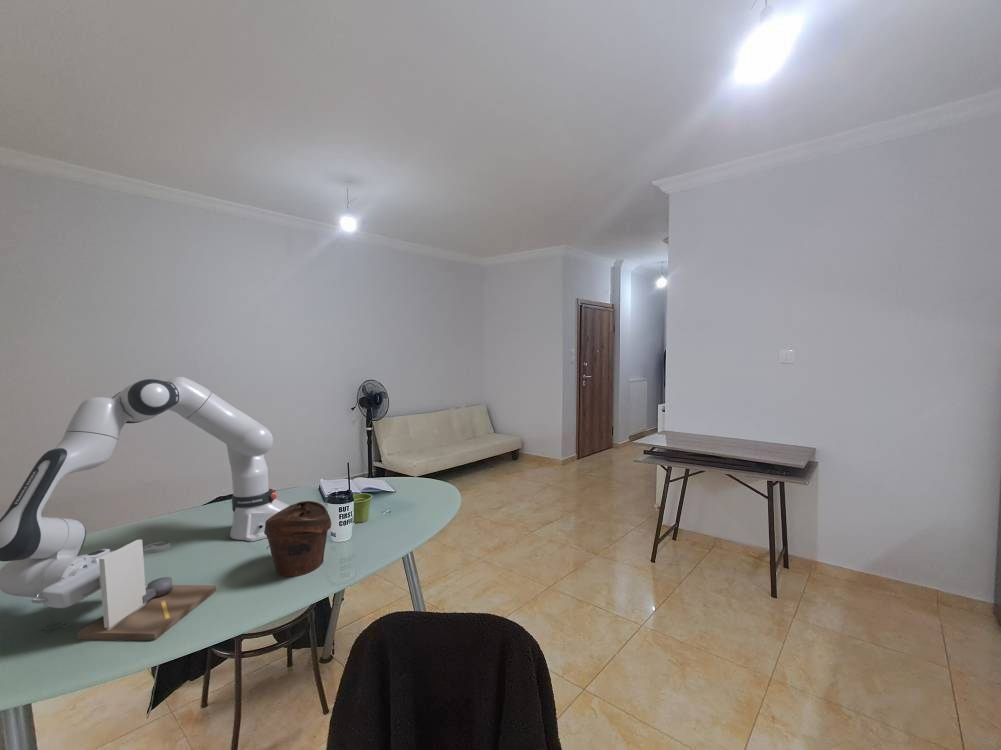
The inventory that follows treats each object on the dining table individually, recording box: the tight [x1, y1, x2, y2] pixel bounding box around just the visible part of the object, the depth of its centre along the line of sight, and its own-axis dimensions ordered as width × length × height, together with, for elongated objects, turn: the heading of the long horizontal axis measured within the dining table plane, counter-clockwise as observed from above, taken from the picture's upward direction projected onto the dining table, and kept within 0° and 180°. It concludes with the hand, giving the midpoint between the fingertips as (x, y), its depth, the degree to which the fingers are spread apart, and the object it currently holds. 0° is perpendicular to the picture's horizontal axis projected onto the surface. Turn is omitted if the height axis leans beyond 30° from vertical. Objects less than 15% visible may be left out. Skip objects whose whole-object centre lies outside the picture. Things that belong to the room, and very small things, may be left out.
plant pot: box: [352, 492, 373, 524], centre depth 166 cm, size 9×9×9 cm
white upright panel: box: [99, 539, 173, 628], centre depth 109 cm, size 18×5×16 cm, turn 177°
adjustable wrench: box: [143, 540, 171, 555], centre depth 139 cm, size 25×6×2 cm, turn 128°
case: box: [264, 500, 332, 577], centre depth 132 cm, size 18×20×18 cm
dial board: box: [76, 584, 217, 641], centre depth 109 cm, size 20×18×2 cm
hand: (127, 577), depth 107 cm, fingers closed
